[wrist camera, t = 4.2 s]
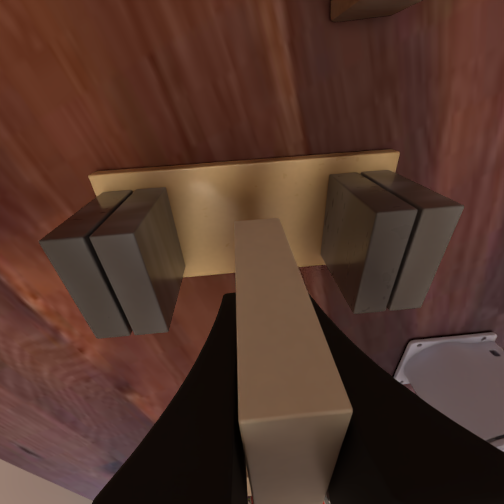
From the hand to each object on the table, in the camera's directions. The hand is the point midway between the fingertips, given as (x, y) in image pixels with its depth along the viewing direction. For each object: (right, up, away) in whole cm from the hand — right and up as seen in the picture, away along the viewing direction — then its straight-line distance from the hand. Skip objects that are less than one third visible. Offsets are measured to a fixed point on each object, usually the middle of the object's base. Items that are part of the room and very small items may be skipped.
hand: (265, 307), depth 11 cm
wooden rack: (-1, +5, +7) cm, 9 cm away
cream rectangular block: (0, +1, +2) cm, 2 cm away
